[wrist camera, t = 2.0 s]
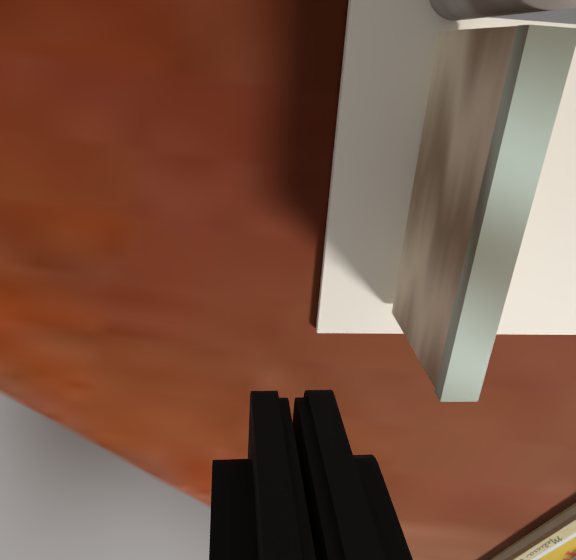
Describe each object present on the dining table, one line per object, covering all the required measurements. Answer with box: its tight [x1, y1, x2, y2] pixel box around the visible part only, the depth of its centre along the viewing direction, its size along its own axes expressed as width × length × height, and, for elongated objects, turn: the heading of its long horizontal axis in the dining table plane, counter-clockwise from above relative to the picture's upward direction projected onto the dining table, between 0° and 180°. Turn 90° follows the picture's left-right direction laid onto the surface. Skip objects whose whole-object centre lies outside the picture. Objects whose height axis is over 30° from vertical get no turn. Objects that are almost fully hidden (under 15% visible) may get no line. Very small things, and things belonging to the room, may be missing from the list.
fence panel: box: [392, 25, 576, 402], centre depth 18 cm, size 12×1×7 cm, turn 176°
